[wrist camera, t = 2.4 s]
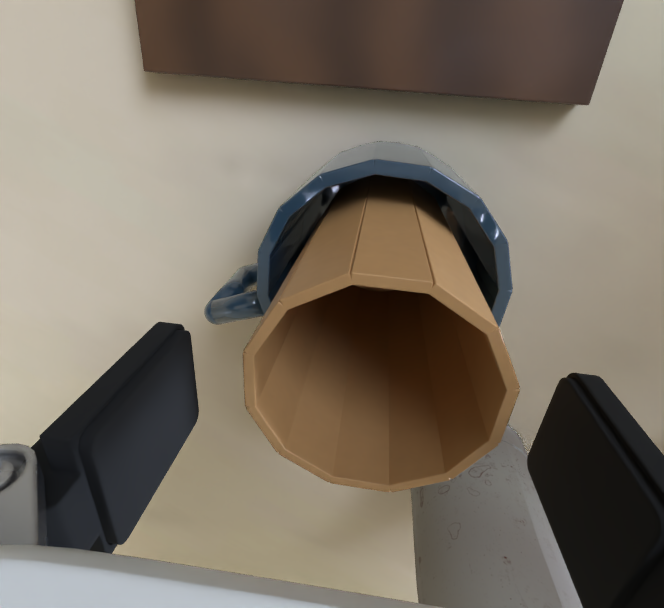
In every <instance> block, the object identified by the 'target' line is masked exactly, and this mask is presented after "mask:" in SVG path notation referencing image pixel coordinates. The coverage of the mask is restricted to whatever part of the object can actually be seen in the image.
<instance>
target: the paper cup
mask: <svg viewBox="0 0 664 608" xmlns="http://www.w3.org/2000/svg"><path fill="white" fill-rule="evenodd" d="M243 370H244V393H245V406H246V409H247V411H248V412H249V414H250V415H251V416H252V418H253V419H254V421H255V422H256V424H257V425H258V426H259V428H260V429H261V431H262V432H263V433H264V435H265V436H266V438H267V439H268V441H269V442H270V443H271V445H272V446H273V448H274V449H275V451H276V452H279V454H280V455H281V456H283V457H285V458H287V459H288V460H290V461H292V462H294V463H295V464H297V465H299V466H301V467H302V468H304V469H306V470H308V471H309V472H311V473H313V474H314V475H316V476H318V477H320V478H321V479H323V480H325V481H327V482H329V481H330V483H333V484H339V485H346V486H352V487H358V488H365V489H371V490H377V491H384V492H390V491H391V492H396V491H401V490H405V489H410V488H415V487H420V486H425V485H430V484H434V483H439V482H444V481H449V480H450V478H451V479H453V478H455V477H456V476H457V475H459V474H460V473H462V472H463V471H464V470H466V469H467V468H468V467H470V466H471V465H472V464H474V463H475V462H476V461H478V460H479V459H481V458H482V457H483V456H485V455H486V454H487V453H489V452H490V451H491V450H493V449H494V448H495V447H497V446H498V445H499V444H498V443H500V442H501V440H502V437H503V434H504V432H505V429H506V426H507V424H508V421H509V418H510V416H511V413H512V410H513V408H514V405H515V402H516V400H517V397H518V394H519V391H520V390H519V388H520V386H519V383H518V380H517V377H516V374H515V371H514V369H513V366H512V363H511V360H510V357H509V354H508V351H507V349H506V346H505V343H504V340H503V337H502V334H501V331H500V329H499V327H498V325H497V323H496V321H495V319H494V317H493V314H492V312H491V310H490V308H489V306H488V304H487V302H486V300H485V298H484V296H483V294H482V292H481V290H480V288H479V286H478V284H477V282H476V280H475V278H474V276H473V274H472V272H471V270H470V268H469V266H468V264H467V262H466V260H465V258H464V256H463V254H462V252H461V250H460V248H459V245H458V243H457V241H456V239H455V237H454V235H453V233H452V231H451V229H450V227H449V225H448V223H447V221H446V219H445V217H444V215H443V213H442V211H441V209H440V207H439V205H438V203H437V201H436V199H435V198H434V197H433V196H432V195H431V194H429V193H428V192H427V191H425V190H424V189H423V188H421V187H420V186H419V185H417V184H416V183H415V182H414V181H412V180H410V179H402V178H395V177H388V176H381V175H372V176H368V177H364V178H362V179H360V180H357V181H355V182H353V183H351V184H349V185H347V186H345V187H343V188H341V189H340V190H339V191H338V193H337V194H336V196H335V197H334V199H333V200H332V202H331V203H330V205H329V206H328V208H327V209H326V211H325V212H324V213H323V215H322V217H321V218H320V220H319V222H318V223H317V225H316V227H315V229H314V230H313V232H312V234H311V236H310V237H309V239H308V241H307V242H306V244H305V246H304V248H303V249H302V251H301V253H300V254H299V256H298V258H297V260H296V261H295V263H294V265H293V266H292V268H291V270H290V272H289V273H288V275H287V277H286V278H285V280H284V282H283V284H282V285H281V287H280V289H279V290H278V292H277V294H276V296H275V297H274V299H273V301H272V302H271V304H270V306H269V308H268V309H267V311H266V313H265V314H264V316H263V318H262V320H261V321H260V323H259V325H258V326H257V328H256V330H255V332H254V333H253V335H252V337H251V338H250V340H249V342H248V344H247V345H246V347H245V349H244V352H243Z"/></svg>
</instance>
